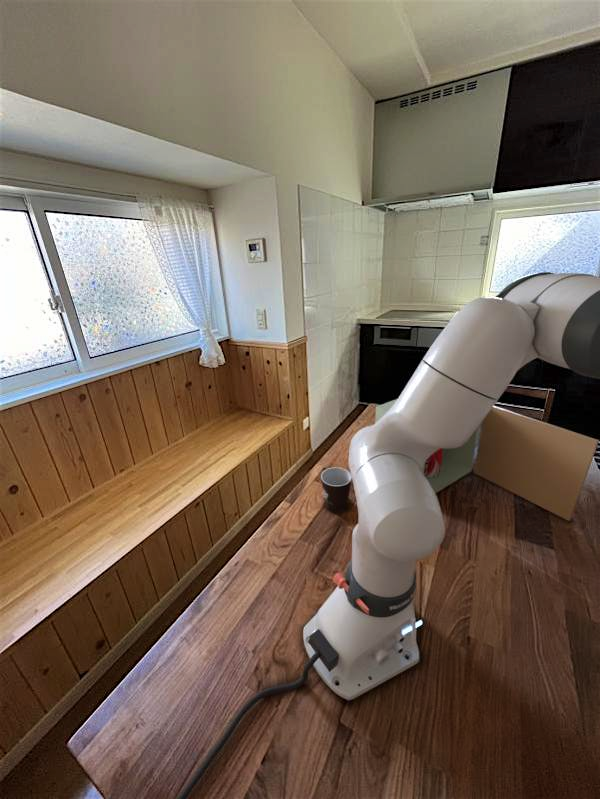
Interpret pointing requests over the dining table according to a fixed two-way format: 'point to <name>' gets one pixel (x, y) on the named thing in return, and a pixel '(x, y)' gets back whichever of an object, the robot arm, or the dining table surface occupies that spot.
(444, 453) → the cupboard
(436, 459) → the soda can
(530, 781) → the dining table surface
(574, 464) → the cupboard door
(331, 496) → the coffee mug
